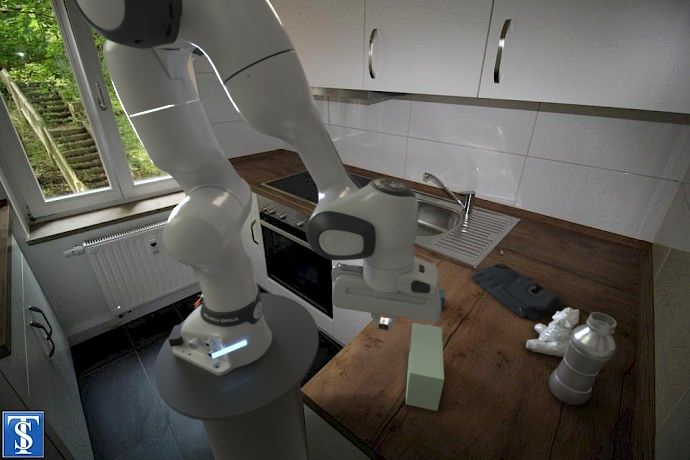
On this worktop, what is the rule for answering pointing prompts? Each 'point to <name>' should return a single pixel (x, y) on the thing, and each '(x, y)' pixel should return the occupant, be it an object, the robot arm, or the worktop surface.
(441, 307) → the block
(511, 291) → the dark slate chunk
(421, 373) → the bin
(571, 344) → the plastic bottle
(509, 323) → the worktop surface
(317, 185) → the robot arm
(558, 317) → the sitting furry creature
